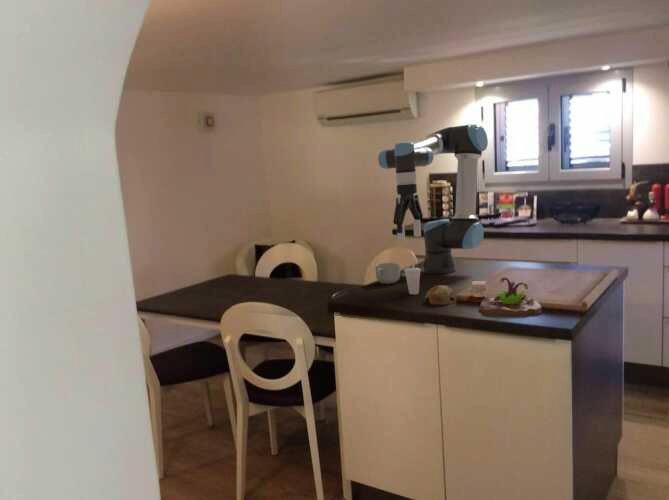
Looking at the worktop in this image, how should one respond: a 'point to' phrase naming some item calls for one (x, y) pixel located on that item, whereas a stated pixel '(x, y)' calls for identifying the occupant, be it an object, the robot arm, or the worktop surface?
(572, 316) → the worktop surface
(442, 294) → the bread roll
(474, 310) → the worktop surface
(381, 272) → the teacup
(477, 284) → the birch block
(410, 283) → the smoothie
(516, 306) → the plant
